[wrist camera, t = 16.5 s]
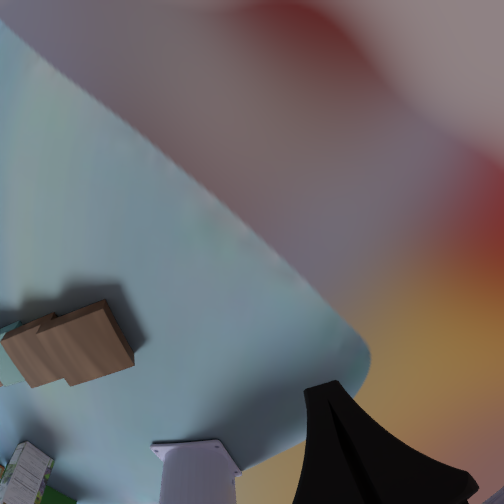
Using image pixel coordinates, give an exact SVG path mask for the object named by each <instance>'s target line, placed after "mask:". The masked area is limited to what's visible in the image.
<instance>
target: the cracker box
mask: <svg viewBox="0 0 504 504" xmlns="http://www.w3.org/2000/svg"><path fill="white" fill-rule="evenodd" d="M4 470H5V468H4V467H3V466H1V465H0V480H1V477H2V475H3V472H4Z"/></svg>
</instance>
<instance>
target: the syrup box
mask: <svg viewBox="0 0 504 504" xmlns="http://www.w3.org/2000/svg"><path fill="white" fill-rule="evenodd" d="M54 463H55V461H54V460H53V459H51V458H50V457H49V456H47V455H46V454H44V453H43V452H42V451H40V450H39V449H38V448H36V447H35V446H33V445H32V444H31V443H29V442H28V441H26V442H23V443H20V444H18V445H17V447H16V449H15V451H14V453H13V455H12V458H11V460H10V462H9V464H8V466H7V469H6V471H5V473H4V476H3V478H2V480H1V483H0V504H40V502H41V499H42V496H43V493H44V490H45V487H46V484H47V481H48V479H49V476H50V473H51V470H52V468H53V465H54Z"/></svg>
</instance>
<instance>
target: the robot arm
mask: <svg viewBox="0 0 504 504" xmlns="http://www.w3.org/2000/svg"><path fill="white" fill-rule="evenodd" d="M303 392H304V397H305V403H306V408H307V437H306V446H305V455H304V461H303V466H302V471H301V475H300V480H299V483H298V487H297V491H296V494H295V497H294V500H293V503H292V504H469V503H468V501H467V499H469V498H470V497H471V496H472V495H473V494H475V493H476V492H477V491H478V489H479V486H478V484H477V483H476V481H475V480H474V479H473V477H472V476H471V475H470V474H469V473H468V472H467V471H464V470H460V469H457V468H454V467H451V466H448V465H446V464H443V463H441V462H439V461H436V460H434V459H432V458H430V457H428V456H426V455H424V454H422V453H420V452H418V451H416V450H414V449H413V448H411V447H409V446H408V445H406V444H405V443H403V442H402V441H400V440H399V439H397V438H396V437H394V436H393V435H392V434H390V433H389V432H388V431H387V430H385V429H384V428H383V427H381V426H380V425H379V424H378V423H377V422H376V421H375V420H373V419H372V418H371V417H370V416H369V415H368V414H367V413H366V412H365V411H364V410H363V409H362V408H361V407H360V406H359V405H358V404H357V403H356V402H355V401H354V400H353V399H352V398H351V396H350V395H349V394H348V393H347V392H346V391H345V389H344V388H343V387H342V385H341V384H340V383H339V381H337V380H334V381H331V382H328V383H324V384H321V385H317V386H314V387H311V388H307V389H305V390H304V391H303ZM150 449H151V450H152V451H153V452H154V453H155V454H156V455H157V456H158V457H159V458H160V459H161V460H162V461H163V462H164V463H163V472H162V481H161V490H160V500H159V504H236V492H235V477H238V476H241V475H242V472H241V471H240V469H239V468H238V466H237V465H236V464H235V462H234V461H233V459H232V458H231V456H230V455H229V453H228V452H227V450H226V449H225V448H224V446H223V444H222V443H221V441H219V440H207V441H198V442H186V443H171V444H151V445H150ZM482 504H504V487H502V488H501V489H500V490H499V491H498V492H496V493H495V494H494V495H493V496H491V497H490V498H489V499H487V500H486V501H485V502H483V503H482Z"/></svg>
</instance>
